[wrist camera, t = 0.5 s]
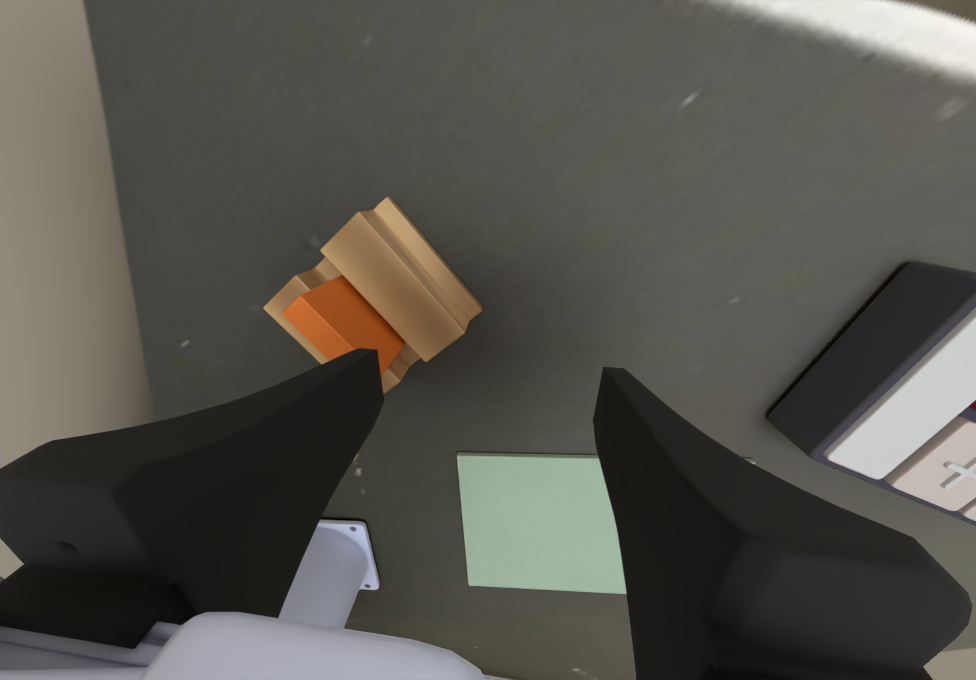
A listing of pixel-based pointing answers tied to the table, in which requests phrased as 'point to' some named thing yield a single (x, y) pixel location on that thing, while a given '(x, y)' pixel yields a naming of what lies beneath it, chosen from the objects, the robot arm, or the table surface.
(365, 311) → the block
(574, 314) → the table surface
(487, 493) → the mat
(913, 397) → the calculator
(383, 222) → the holder
